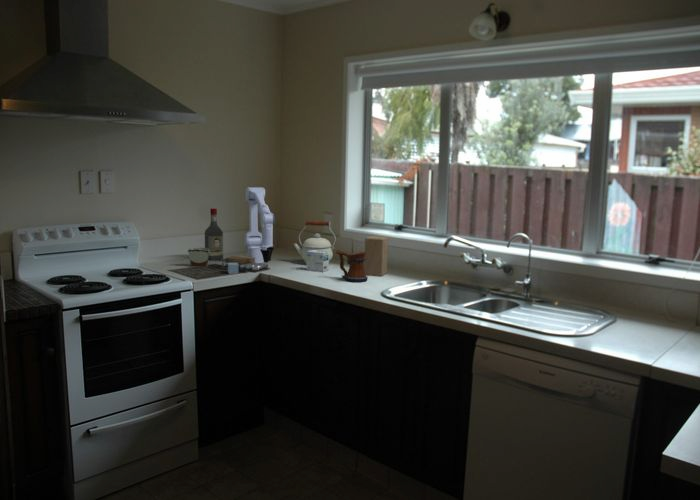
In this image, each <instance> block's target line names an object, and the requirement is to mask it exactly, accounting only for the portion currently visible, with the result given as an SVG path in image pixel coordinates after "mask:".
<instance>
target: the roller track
mask: <svg viewBox="0 0 700 500" xmlns="http://www.w3.org/2000/svg"><path fill="white" fill-rule="evenodd" d="M219 268H221V269H227V270H228V263H227V262H226V261H224V262H222V263H221V266H219ZM270 269H271V268H270V267H269V264H268V263H267V262H264V263H256V262H252V263H248V264H244V265H243V264H238V271H242V272H247V273H248V272H249V273H254V274H255V273H259V272H263V271H267V270H270Z"/></svg>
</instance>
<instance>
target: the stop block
mask: <svg viewBox="0 0 700 500" xmlns="http://www.w3.org/2000/svg"><path fill="white" fill-rule="evenodd" d="M227 273H229V274H228V275H236V274H237V275H239V270H238V263H228V269H227Z"/></svg>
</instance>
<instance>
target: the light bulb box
mask: <svg viewBox="0 0 700 500" xmlns="http://www.w3.org/2000/svg"><path fill="white" fill-rule="evenodd" d="M329 267H330V261H329V251H319V250H310V251H307V264H306V271H309V272H310V271H311V272H322V273H324V272H327V271H329V270H330V269H329Z"/></svg>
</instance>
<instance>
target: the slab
mask: <svg viewBox="0 0 700 500" xmlns="http://www.w3.org/2000/svg"><path fill="white" fill-rule="evenodd" d="M225 262H227V263H238V264H243V265H244V264H248V263H252V262H255V257H247V255H245V256H244V255H233V256H228V257H225Z"/></svg>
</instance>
